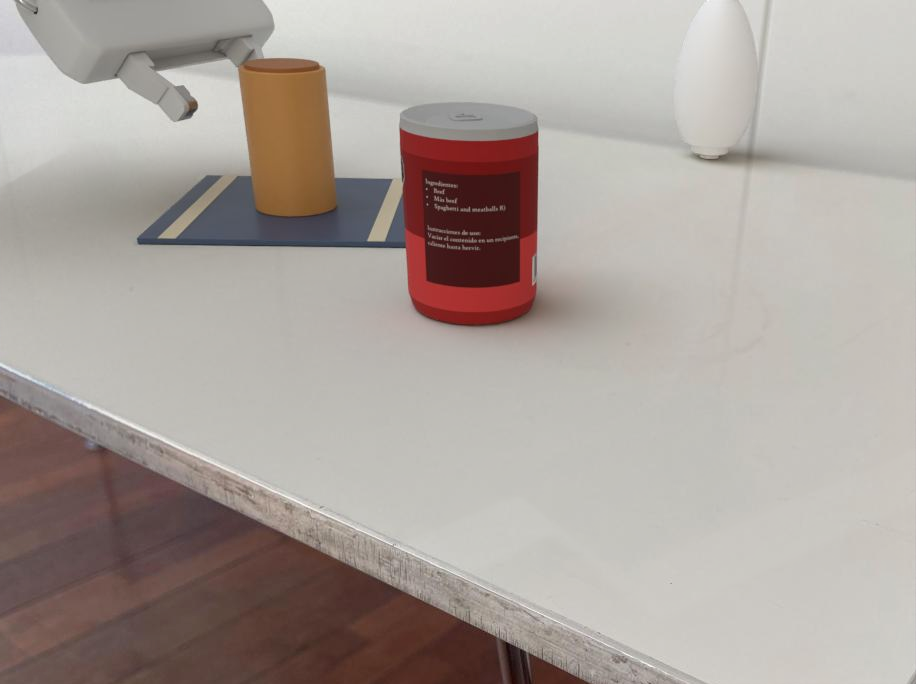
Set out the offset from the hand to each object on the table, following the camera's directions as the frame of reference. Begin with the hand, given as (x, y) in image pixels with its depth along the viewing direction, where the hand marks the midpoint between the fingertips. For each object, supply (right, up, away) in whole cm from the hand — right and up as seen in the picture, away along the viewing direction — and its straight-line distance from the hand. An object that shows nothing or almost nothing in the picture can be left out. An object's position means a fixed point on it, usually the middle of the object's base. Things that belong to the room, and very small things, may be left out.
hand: (231, 105), depth 75 cm
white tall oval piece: (+38, +3, +24) cm, 46 cm away
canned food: (+20, -17, -14) cm, 30 cm away
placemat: (+4, -7, +2) cm, 9 cm away
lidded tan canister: (+4, -7, +1) cm, 9 cm away
